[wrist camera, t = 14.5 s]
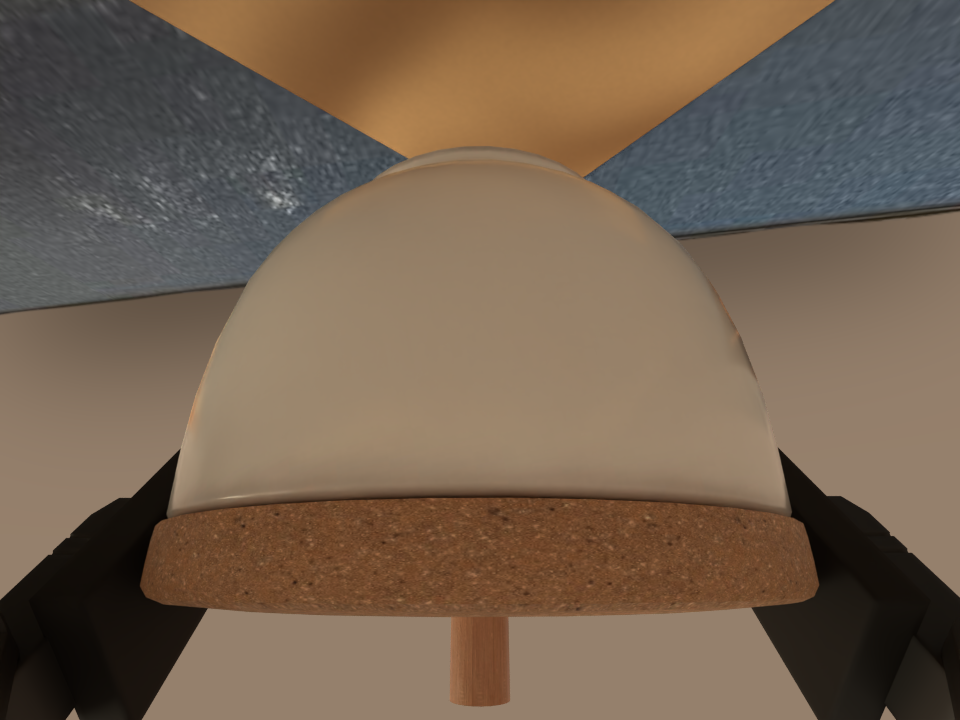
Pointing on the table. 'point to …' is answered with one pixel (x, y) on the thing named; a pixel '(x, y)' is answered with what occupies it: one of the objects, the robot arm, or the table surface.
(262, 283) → the trinket box
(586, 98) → the cork mat
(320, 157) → the table surface
